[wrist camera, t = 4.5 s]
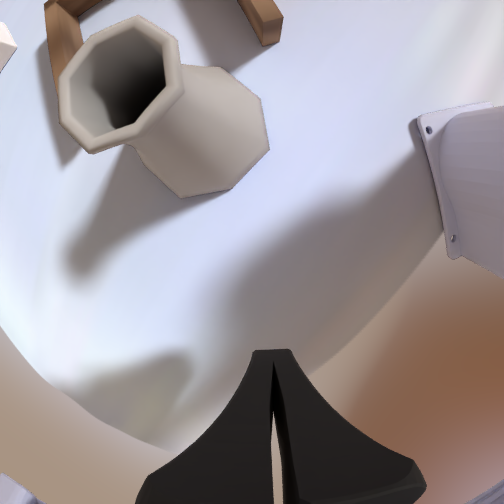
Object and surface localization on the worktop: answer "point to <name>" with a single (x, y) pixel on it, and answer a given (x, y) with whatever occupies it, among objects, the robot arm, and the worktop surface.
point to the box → (75, 3)
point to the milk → (5, 45)
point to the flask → (161, 109)
